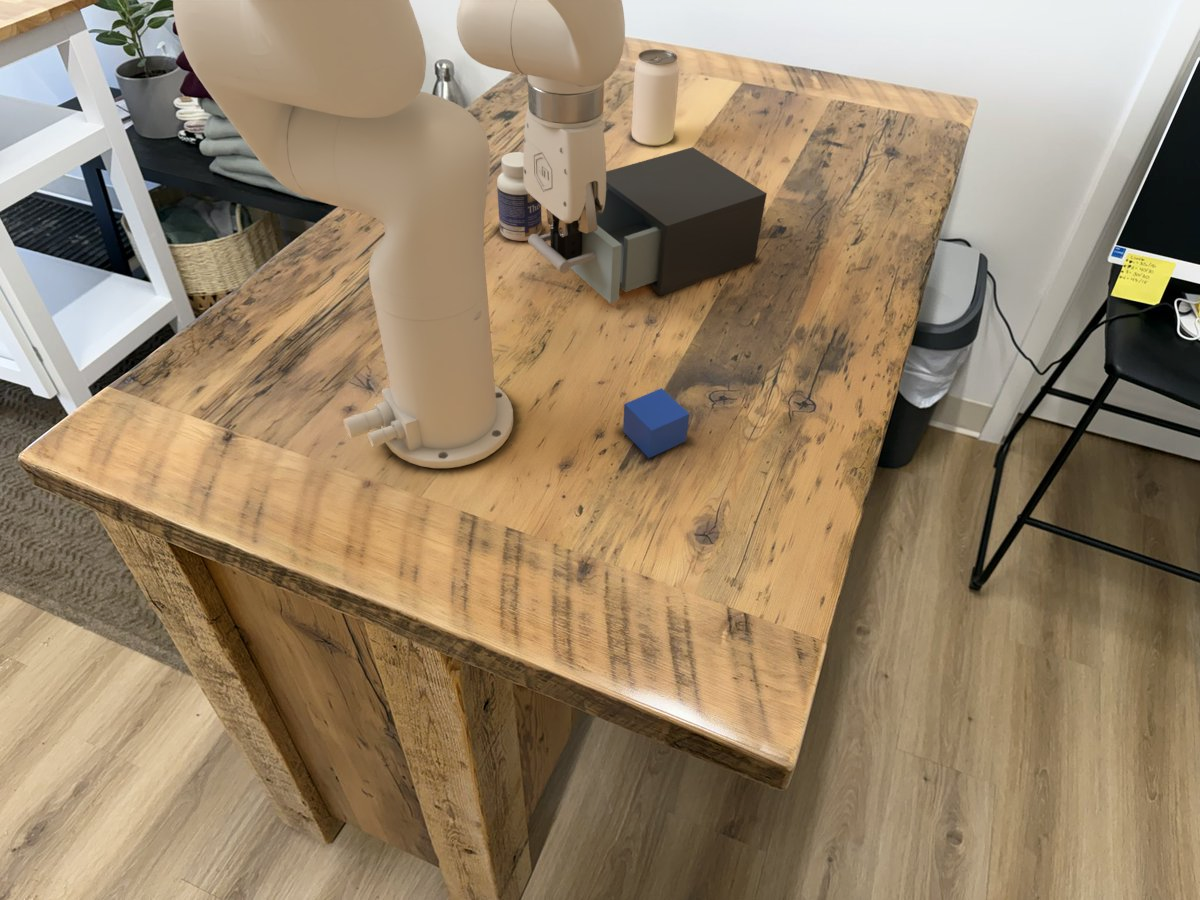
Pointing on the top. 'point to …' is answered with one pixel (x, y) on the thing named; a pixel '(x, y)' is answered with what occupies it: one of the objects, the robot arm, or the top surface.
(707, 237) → the small storage cabinet
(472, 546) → the top surface
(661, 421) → the matte blue toy brick
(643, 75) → the can
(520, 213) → the pill bottle
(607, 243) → the drawer
